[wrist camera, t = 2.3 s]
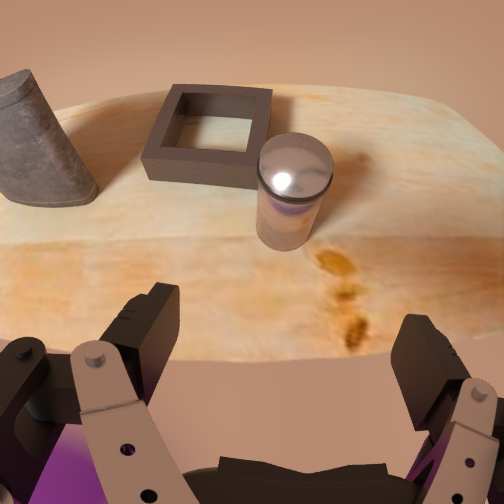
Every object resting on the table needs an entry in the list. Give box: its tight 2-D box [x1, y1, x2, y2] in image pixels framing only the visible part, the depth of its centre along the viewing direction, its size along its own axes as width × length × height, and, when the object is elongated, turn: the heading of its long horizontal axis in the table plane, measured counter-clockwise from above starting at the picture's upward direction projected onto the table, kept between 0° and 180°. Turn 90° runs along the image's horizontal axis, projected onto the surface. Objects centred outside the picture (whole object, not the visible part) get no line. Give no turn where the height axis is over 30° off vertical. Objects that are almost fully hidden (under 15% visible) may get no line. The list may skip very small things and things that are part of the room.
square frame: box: [140, 84, 273, 190], centre depth 31 cm, size 11×11×4 cm
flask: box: [0, 69, 98, 208], centre depth 22 cm, size 4×14×18 cm, turn 83°
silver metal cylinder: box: [256, 132, 334, 251], centre depth 25 cm, size 5×5×10 cm
